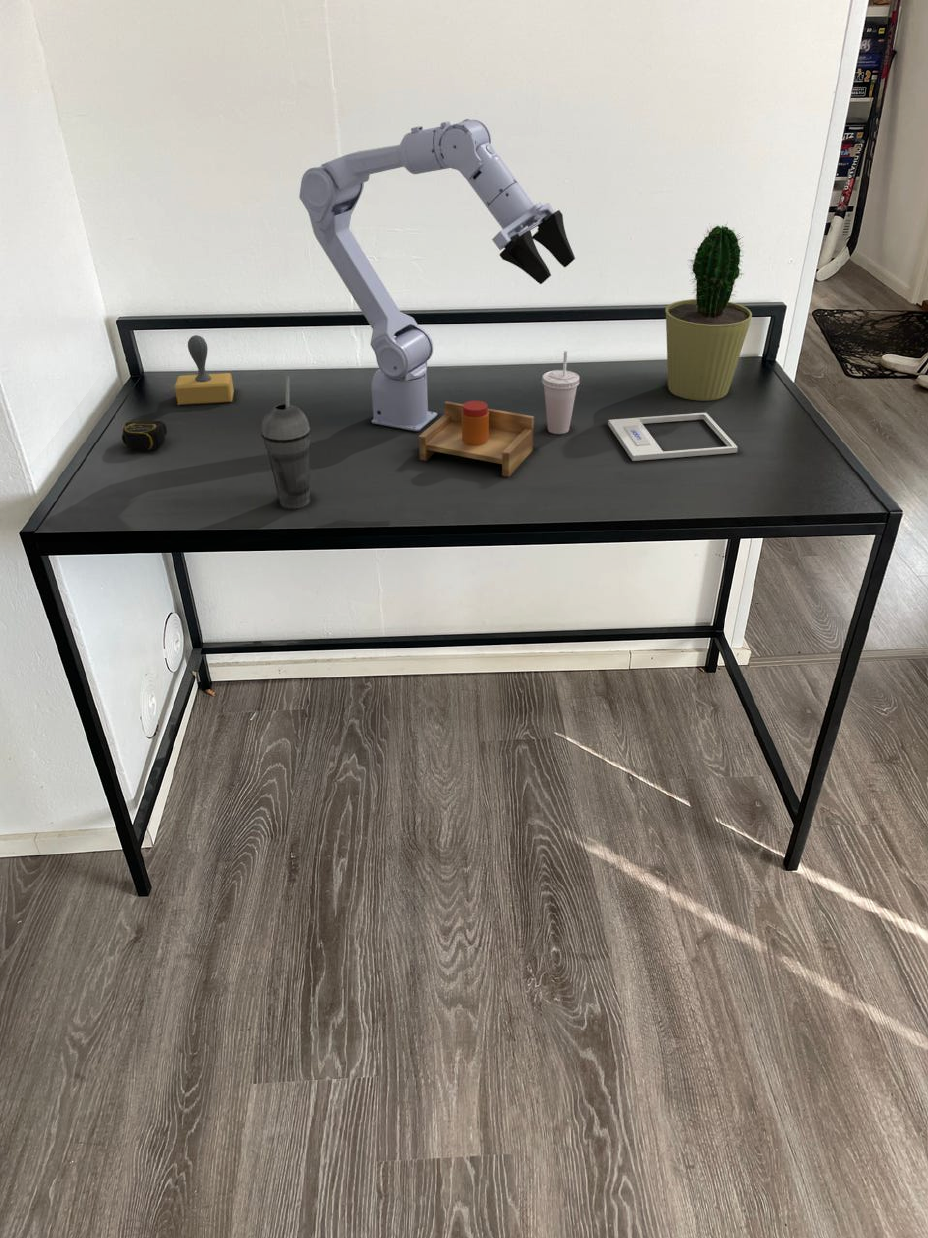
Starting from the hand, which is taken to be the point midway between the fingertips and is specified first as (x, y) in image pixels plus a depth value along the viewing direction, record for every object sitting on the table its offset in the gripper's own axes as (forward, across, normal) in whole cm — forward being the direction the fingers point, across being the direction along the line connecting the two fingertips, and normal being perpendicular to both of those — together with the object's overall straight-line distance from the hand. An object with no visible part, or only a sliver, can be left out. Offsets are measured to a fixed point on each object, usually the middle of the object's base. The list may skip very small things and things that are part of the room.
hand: (558, 271), depth 142 cm
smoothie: (+20, +5, +23) cm, 31 cm away
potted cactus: (+31, +36, +14) cm, 50 cm away
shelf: (+14, -11, +26) cm, 32 cm away
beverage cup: (+2, -39, +36) cm, 53 cm away
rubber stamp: (-25, -17, +67) cm, 74 cm away
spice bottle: (+12, -11, +24) cm, 29 cm away
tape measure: (-22, -37, +62) cm, 75 cm away
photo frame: (+33, +12, +10) cm, 36 cm away
